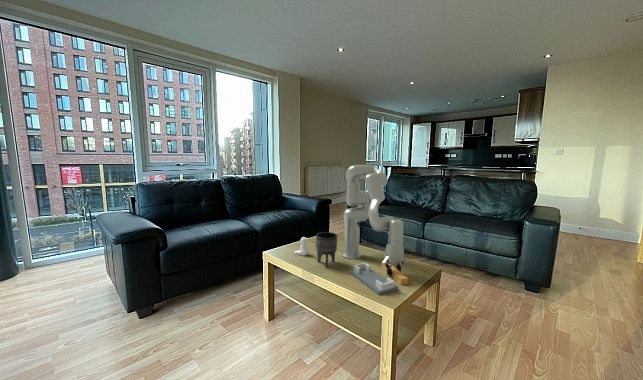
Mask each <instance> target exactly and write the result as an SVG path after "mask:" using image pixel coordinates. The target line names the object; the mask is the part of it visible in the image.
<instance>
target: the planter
mask: <svg viewBox="0 0 643 380" xmlns="http://www.w3.org/2000/svg"><path fill="white" fill-rule="evenodd" d="M315 242H316V243H315V245H316V246H315V248H316V253H317V255H316V256H317V257H316V258H317V262H318V263H320V262H321V258H322V257H323V256H324V255H325V268H329V257H330V258H331V262H332V263H335V259H336V258H335V257H336V252H337V250H338V234H337V233H335V232H330V231H329V232H328V231H324V232H323V231H321V232H318V233H316V235H315Z"/></svg>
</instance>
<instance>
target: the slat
mask: <svg viewBox="0 0 643 380" xmlns="http://www.w3.org/2000/svg"><path fill="white" fill-rule="evenodd" d="M387 262H388V261H387ZM389 265H390V264H389ZM381 268H382V269H383V270H384V271H385V272H386V273H387V267H386V266H385V265H384V264H383V261H381ZM391 269H392V275H391V276H390V277H391V278H393V279H394V280H395V282H397V283H398V284H399V285H400V284H401V285H400V286H403V285H402V284H405V285H409V278H408V277H407V276H406V275H405V274H404V273H402V271H401V272H400V271H399V270H398V269H396V267H395V266H394V265H393V264H392V267H391Z"/></svg>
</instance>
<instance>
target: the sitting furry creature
mask: <svg viewBox="0 0 643 380" xmlns="http://www.w3.org/2000/svg"><path fill="white" fill-rule="evenodd" d="M308 240H309V237H305V236H303V237H301V238H300V240H299V243H300V247H299V250H298V249H297V250H295V251H294V255H297V256H302V257H305V256H306V257H307V256H308V255H309V253H310V250H309V248H308V244H307V242H308Z"/></svg>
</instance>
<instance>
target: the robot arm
mask: <svg viewBox="0 0 643 380" xmlns="http://www.w3.org/2000/svg"><path fill="white" fill-rule="evenodd" d="M345 178H346V179H345V180H346V198H345V199H346V204H347V206H350V208H347V209H345V210H344V212H343V220H344V221H343V222H344V246H343V247H342V249H344V250H343V252H341V256H342V257H343V258H346V259H353V260H354V259H355V260H357V259H359V258H361V257H362V253H361V252H360V226H359V225H358V223H360V222H364V221H367V219H368V220H369V223H370V227H371V228H372V230H373V231H375V232H384V231H388V234H387V235H388V238H387V239H388V240H387V244H386V246H385V251H384V258H383V259H384V260H383V261H382V262H383V264H384V265H385V266H386V267H387V272H386V275H387V276H389V277H392V276H391V275H392V269H391V267H392V265H393V264H396V267H395V268H396V269H398V270H399V271H400V272H401V273H402V267H403V265H404V263H405V261H406V260H407V259H406V257H405V249H404V244H403V242H404V221H403V220H402V219H398V218H394V217H393V216H390V215H387V216H385V215H384V216H380V215H379V206H380V204H381V203H382V202H383V201H384V200H385V199H386V195H385V192H384V189H383V187H385V186H387V184H388V176H387V175H386V173H385V172H383V171H381V169H379V168H377V167H376V166H374V165H372V164H353V165H351V166H349V167H348V168H347V170H346V173H345ZM359 179H360V180H361V179H364V182H365V186H366V189H367V191H365V190H361V183H360V181H359ZM387 261H388V262H387ZM389 264H390V265H389Z"/></svg>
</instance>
